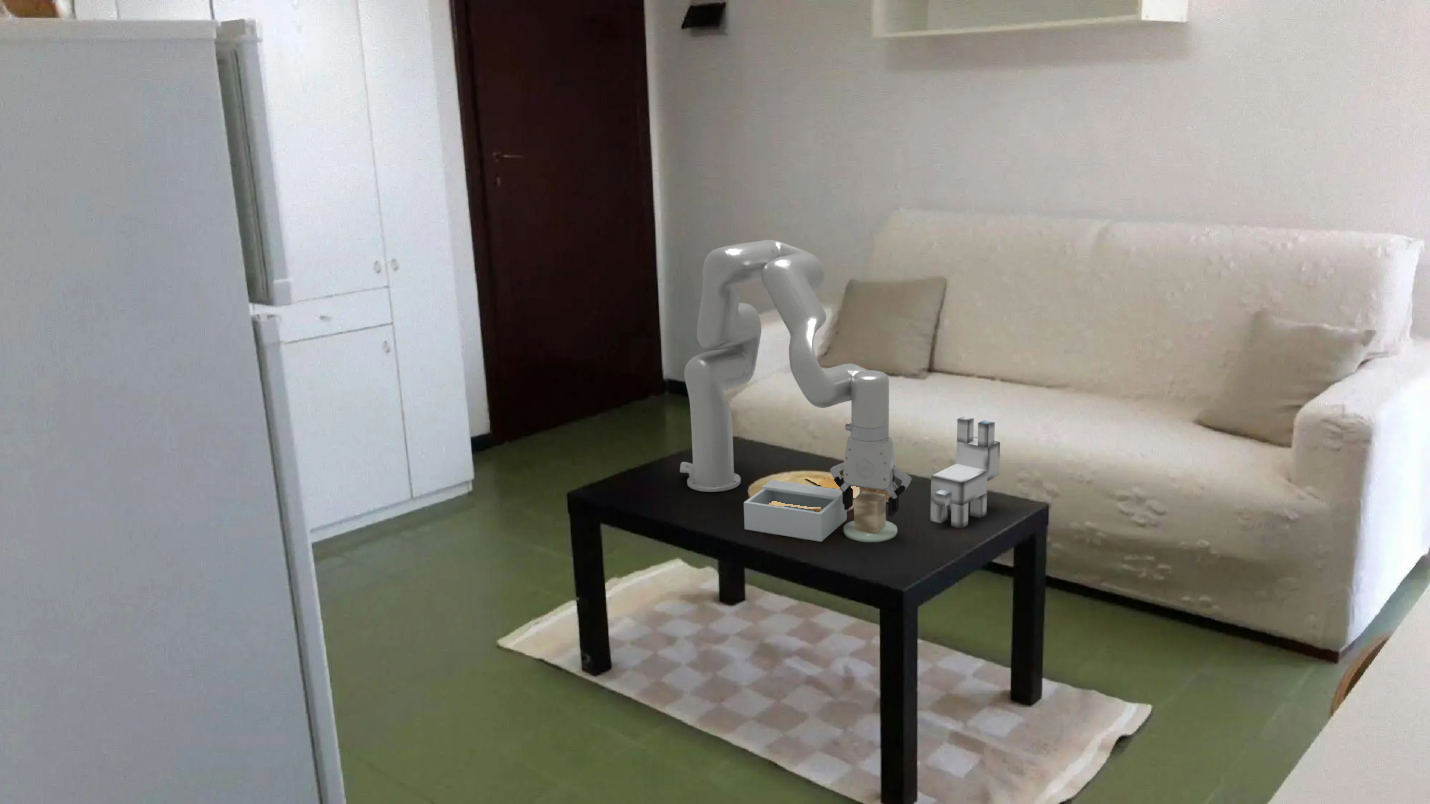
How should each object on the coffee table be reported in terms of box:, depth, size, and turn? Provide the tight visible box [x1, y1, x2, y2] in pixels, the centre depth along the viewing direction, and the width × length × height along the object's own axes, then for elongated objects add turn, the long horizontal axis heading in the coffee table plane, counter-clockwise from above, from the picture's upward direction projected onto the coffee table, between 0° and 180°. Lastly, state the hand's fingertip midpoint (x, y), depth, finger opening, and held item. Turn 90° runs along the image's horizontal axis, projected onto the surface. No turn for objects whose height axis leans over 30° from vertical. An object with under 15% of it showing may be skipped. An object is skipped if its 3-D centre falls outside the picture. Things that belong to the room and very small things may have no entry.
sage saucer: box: [843, 520, 898, 543], centre depth 238 cm, size 11×11×1 cm
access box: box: [743, 479, 848, 543], centre depth 243 cm, size 18×14×7 cm
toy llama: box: [930, 416, 1001, 529], centre depth 242 cm, size 8×18×20 cm, turn 137°
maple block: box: [853, 491, 887, 534], centre depth 237 cm, size 5×5×7 cm
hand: (870, 511), depth 237 cm, fingers open, 9 cm apart
